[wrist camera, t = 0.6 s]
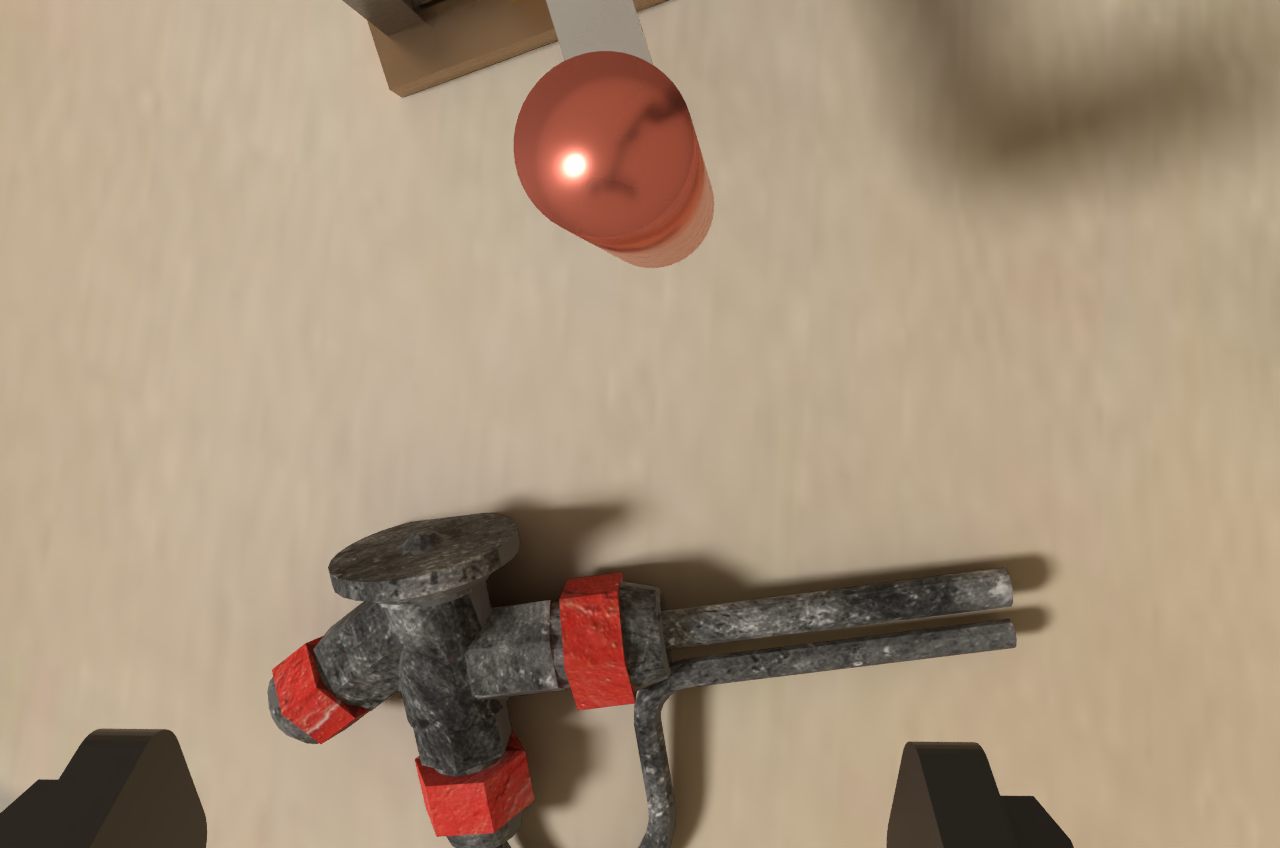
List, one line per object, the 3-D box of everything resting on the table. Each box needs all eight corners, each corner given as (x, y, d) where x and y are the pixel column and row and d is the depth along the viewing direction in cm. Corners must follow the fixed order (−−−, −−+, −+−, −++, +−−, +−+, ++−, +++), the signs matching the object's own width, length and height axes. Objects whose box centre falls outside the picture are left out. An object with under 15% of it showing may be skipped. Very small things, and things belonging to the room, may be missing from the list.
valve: (359, 868, 40) (274, 525, 37) (1002, 803, 38) (973, 433, 35) (299, 991, 34) (191, 592, 31) (1062, 921, 32) (1035, 485, 29)
